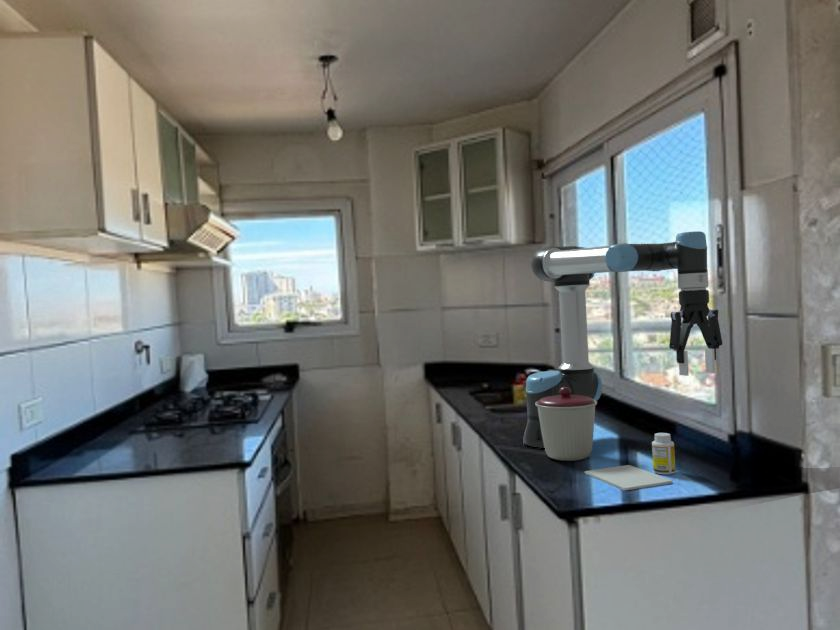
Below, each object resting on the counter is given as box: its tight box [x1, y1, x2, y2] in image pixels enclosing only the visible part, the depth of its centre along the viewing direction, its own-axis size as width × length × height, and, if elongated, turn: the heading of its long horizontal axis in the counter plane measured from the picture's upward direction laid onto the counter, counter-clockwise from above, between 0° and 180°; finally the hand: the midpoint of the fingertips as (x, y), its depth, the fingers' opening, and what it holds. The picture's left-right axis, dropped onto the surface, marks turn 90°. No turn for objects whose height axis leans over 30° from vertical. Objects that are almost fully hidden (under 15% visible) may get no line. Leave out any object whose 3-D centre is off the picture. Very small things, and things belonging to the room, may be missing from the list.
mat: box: [584, 464, 674, 492], centre depth 168 cm, size 18×14×1 cm
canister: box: [535, 387, 598, 462], centre depth 193 cm, size 18×18×21 cm
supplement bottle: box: [651, 432, 677, 476], centre depth 171 cm, size 6×6×10 cm
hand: (697, 373), depth 174 cm, fingers open, 8 cm apart
